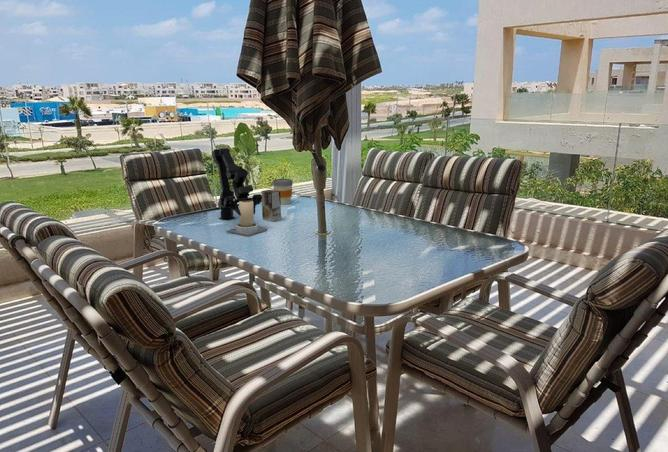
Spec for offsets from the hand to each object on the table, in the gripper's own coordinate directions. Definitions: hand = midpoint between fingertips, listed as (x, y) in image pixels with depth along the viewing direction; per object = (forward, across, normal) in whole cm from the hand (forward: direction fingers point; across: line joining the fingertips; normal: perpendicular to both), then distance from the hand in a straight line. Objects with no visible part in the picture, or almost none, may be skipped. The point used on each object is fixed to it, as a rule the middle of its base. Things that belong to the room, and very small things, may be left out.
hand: (247, 214), depth 248 cm
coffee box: (-8, +21, +21) cm, 30 cm away
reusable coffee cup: (-34, +43, +48) cm, 73 cm away
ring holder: (+6, 0, +7) cm, 9 cm away
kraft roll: (+4, 0, +6) cm, 7 cm away
